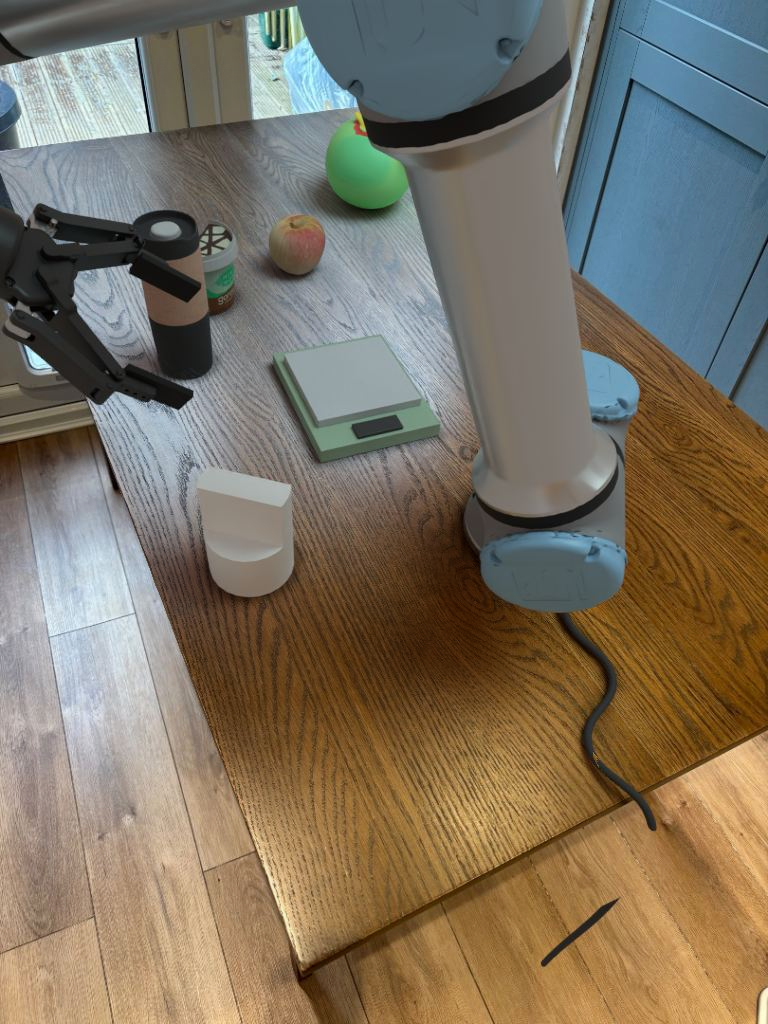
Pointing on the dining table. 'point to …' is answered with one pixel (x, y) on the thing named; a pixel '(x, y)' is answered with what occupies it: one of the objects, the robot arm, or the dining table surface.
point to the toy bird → (362, 168)
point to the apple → (297, 243)
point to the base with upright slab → (246, 531)
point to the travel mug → (171, 319)
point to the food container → (218, 265)
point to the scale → (354, 397)
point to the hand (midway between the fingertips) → (190, 344)
